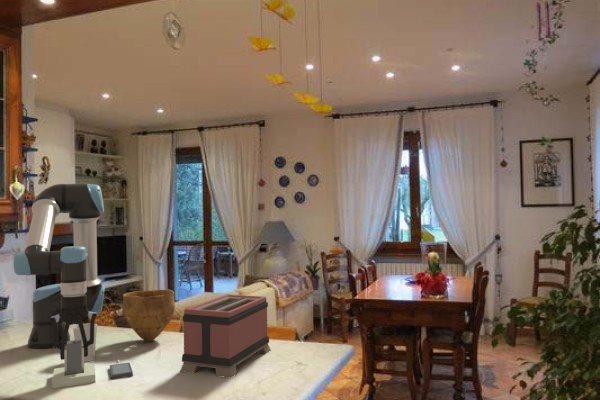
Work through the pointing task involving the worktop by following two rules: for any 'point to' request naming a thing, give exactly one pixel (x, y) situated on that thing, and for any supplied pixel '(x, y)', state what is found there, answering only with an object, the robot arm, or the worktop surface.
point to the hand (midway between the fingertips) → (74, 367)
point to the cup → (91, 347)
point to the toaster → (224, 333)
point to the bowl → (148, 311)
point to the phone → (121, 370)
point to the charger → (74, 357)
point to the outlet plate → (73, 377)
